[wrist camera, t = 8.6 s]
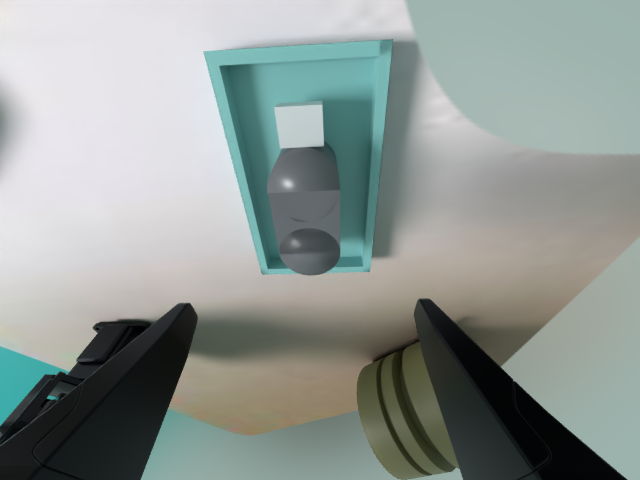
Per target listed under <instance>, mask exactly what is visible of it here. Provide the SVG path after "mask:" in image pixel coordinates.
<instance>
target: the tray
mask: <svg viewBox="0 0 640 480" xmlns="http://www.w3.org/2000/svg"><path fill="white" fill-rule="evenodd" d="M392 43H393V39H392V40H376V41H360V42H345V43H329V44H313V45H297V46H281V47H266V48H250V49H234V50H218V51H203V52H204V55H205V59H206V63H207V67H208V71H209V74H210V78H211V82H212V86H213V90H214V93H215V97H216V101H217V105H218V109H219V113H220V116H221V120H222V124H223V128H224V132H225V135H226V139H227V143H228V147H229V151H230V154H231V158H232V162H233V166H234V170H235V173H236V177H237V181H238V185H239V189H240V193H241V196H242V200H243V204H244V208H245V212H246V215H247V219H248V223H249V227H250V231H251V234H252V238H253V242H254V246H255V250H256V253H257V257H258V261H259V265H260V269H261V273H262V274H299V273H296V272H294V271H292V270H291V269H289V268H288V267H287V266H286V265H285V264H284V263H283V261H282V260H281V257H280V254H279V249H278V243H277V238H276V233H275V228H274V223H273V218H272V213H271V208H270V202H269V197H268V192H267V183H268V178H269V175H270V173H271V171H272V169H273V167H274V165H275V162H276V160H277V158H278V156H279V154H280V152H281V150H282V148H280V145H279V138H278V131H277V124H276V117H275V110H274V107H275V106H276V105H277V104H278V103H289V102H307V101H322V103H323V127H324V141H325V142H327V143H328V144H329V145H330V146H331V148H332V149H333V151H334V153H335V156H336V159H337V167H338V175H339V183H340V258H339V261H338V262H337V264H336V265H335V266H334V267H333V268H332V269H331V270H329V271H327V272H325V273H339V272H370V266H371V256H372V246H373V236H374V226H375V216H376V206H377V195H378V185H379V175H380V165H381V155H382V145H383V135H384V125H385V114H386V104H387V94H388V84H389V74H390V64H391V54H392Z"/></svg>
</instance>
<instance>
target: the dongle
mask: <svg viewBox="0 0 640 480" xmlns="http://www.w3.org/2000/svg"><path fill="white" fill-rule="evenodd" d="M274 110H275V117H276V124H277V131H278V138H279V145H280V148H282V150H281V152H280V154H279V156H278V158H277V160H276V162H275V165H274V167H273V169H272V171H271V173H270V175H269V178H268V183H267V192H268V197H269V202H270V208H271V213H272V218H273V223H274V228H275V233H276V238H277V243H278V249H279V254H280V257H281V260H282V261H283V263H284V264H285V265H286V266H287V267H288V268H289V269H291V270H292V271H294V272H296V273H299V274H303V275H319V274H323V273H325V272H327V271H329V270H331V269H332V268H333V267H334V266H335V265H336V264H337V262H338V261H339V258H340V183H339V175H338V167H337V159H336V156H335V153H334V151H333V149H332V148H331V146H330V145H329V144H328V143H327V142H325V141H324V127H323V103H322V101H307V102H289V103H278V104H277V105H276V106H275V107H274Z"/></svg>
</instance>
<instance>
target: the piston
mask: <svg viewBox="0 0 640 480" xmlns="http://www.w3.org/2000/svg"><path fill="white" fill-rule="evenodd" d="M357 403H358V410H359V415H360V419H361V422H362V426H363V429H364V432H365V434H366V437H367V439H368V442H369V444H370V446H371V448H372V450H373V452H374V454H375V455H376V457H377V458H378V460H379V461H380V463H381V464H382V465H383V467H385V469H386V470H387V471H388V472H389V473H390V474H392V475H393V476H394V477H396V478H398V479H401V480H407V479H413V478H418V477H424V476H430V475H432V474H441V473H446V472H451V471H453V470H454V469H455V468H459V465H458V462H457V459H456V456H455V453H454V450H453V447H452V444H451V441H450V438H449V435H448V432H447V429H446V426H445V423H444V420H443V417H442V414H441V411H440V408H439V405H438V402H437V398H436V395H435V392H434V389H433V386H432V383H431V380H430V377H429V374H428V371H427V368H426V365H425V362H424V359H423V355H422V351H421V346H420V342H417V343H414V344H412V345H410V346H408V347H406V348H405V350H404V351H403V350H400V351H397V352H395V353H393V354H391V355H388V356H387V357H384V358H382V359H380V360H378V361H375V362H373V363H371V364H369V365H367V366H365V367H364V368H363V369H362V370H361V372H360V374H359V377H358V382H357ZM459 469H460V468H459Z"/></svg>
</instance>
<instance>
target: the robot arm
mask: <svg viewBox="0 0 640 480" xmlns="http://www.w3.org/2000/svg"><path fill="white" fill-rule="evenodd" d="M414 318H415V323H416V327H417V332H418V337H419V342H420V346H421V351H422V355H423V359H424V362H425V365H426V368H427V371H428V374H429V377H430V380H431V383H432V386H433V389H434V392H435V395H436V398H437V402H438V405H439V408H440V411H441V414H442V417H443V420H444V423H445V426H446V429H447V432H448V435H449V438H450V441H451V444H452V447H453V450H454V453H455V456H456V459H457V462H458V465H459V468H460V471H461V474H462V477H463V480H627V479H626V478H625V477H624V476H622V475H621V474H620V473H619V472H617V471H616V470H615V469H614V468H613V467H611V466H610V465H609V464H608V463H607V462H606V461H604V460H603V459H602V458H601V457H600V456H598V455H597V454H596V453H595V452H594V451H593V450H592V449H590V448H589V447H588V446H587V445H586V444H584V443H583V442H582V441H581V440H580V439H578V438H577V437H576V436H575V435H574V434H573V433H572V432H570V431H569V430H568V429H567V428H565V427H564V426H563V425H562V424H561V423H560V422H559V421H558V420H556V419H555V418H554V417H553V416H552V415H551V414H550V413H548V412H547V411H546V410H545V409H544V408H543V407H542V406H541V405H540V404H539V403H538V402H536V401H535V400H534V399H533V398H532V397H531V396H530V395H529V394H528V393H527V392H526V391H525V390H524V389H523V388H522V387H520V386H519V385H518V384H517V383H516V382H515V381H513V379H512V378H511V377H510V376H509V375H508V374H507V373H506V372H505V371H504V370H503V369H502V368H501V367H500V366H499V365H498V364H497V363H496V362H495V361H494V360H493V359H492V358H491V357H489V356H488V355H487V354H486V353H485V352H484V351H483V350H482V349H481V348H480V347H479V346H478V345H477V344H476V343H475V342H474V341H473V340H472V339H471V338H470V337H469V336H468V335H467V334H466V333H465V332H464V331H463V330H462V329H461V328H460V327H458V326H457V325H456V324H455V323H454V322H453V321H452V320H451V319H450V318H449V317H448V316H447V315H446V314H445V313H444V312H443V311H442V310H441V309H440V308H439V307H438V306H437V305H436V304H435V303H434V302H433V301H432V300H430V299H418V301H417V304H416V308H415V311H414ZM197 320H198V317H197V314H196V312H195V310H194V308H193V307H192V305H191V304H190V303H179V304H177V305H176V306H175V307H173V308H172V309H171V310H170V311H169V312H167V313H166V314H165V315H164V316H162V317H161V318H160V319H159V320H158V321H156V322H155V323H154V324H153V325H150V324H148V323H97V324H95V325H94V327H93V329H94V330H95V331H96V332H97V333H98V334H97V335H96V336H95V337H94V339H93V340H92V341H91V342H90V344H89V345H88V346H87V347H86V348H85V350H84V351H83V352H82V353H81V354H80V356H79V357H78V358H77V360H76V361H77V364H76V365H75V366H74V367H73V368H72V370H71V371H70V372H69V373H68V375H66V374H65V373H64V372H61V371H60V372H59V373H58V374H57V375H44V376H43V378H42V379H41V380H40V381H39V382H38V383H37V384H36V386H35V387H34V388H33V389H32V390H31V391H30V392H29V393H28V395H27V396H26V397H25V398H24V399H23V400H22V401H21V403H20V404H19V405H18V406H17V407H16V408H15V410H14V411H13V412H12V413H11V414H10V415H9V416H8V418H7V419H6V420H5V421H4V422H3V424H2V425H1V426H0V480H141V477H142V474H143V472H144V469H145V466H146V464H147V461H148V459H149V456H150V454H151V451H152V448H153V446H154V443H155V441H156V438H157V435H158V433H159V430H160V428H161V425H162V422H163V420H164V417H165V415H166V412H167V409H168V407H169V404H170V402H171V399H172V396H173V394H174V391H175V389H176V386H177V383H178V381H179V378H180V376H181V373H182V370H183V368H184V365H185V363H186V360H187V357H188V353H189V350H190V346H191V343H192V339H193V335H194V332H195V328H196V324H197ZM48 395H51V396H54V397H56V398H55V399H54V400H50V399H46V398H47V397H48Z"/></svg>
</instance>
